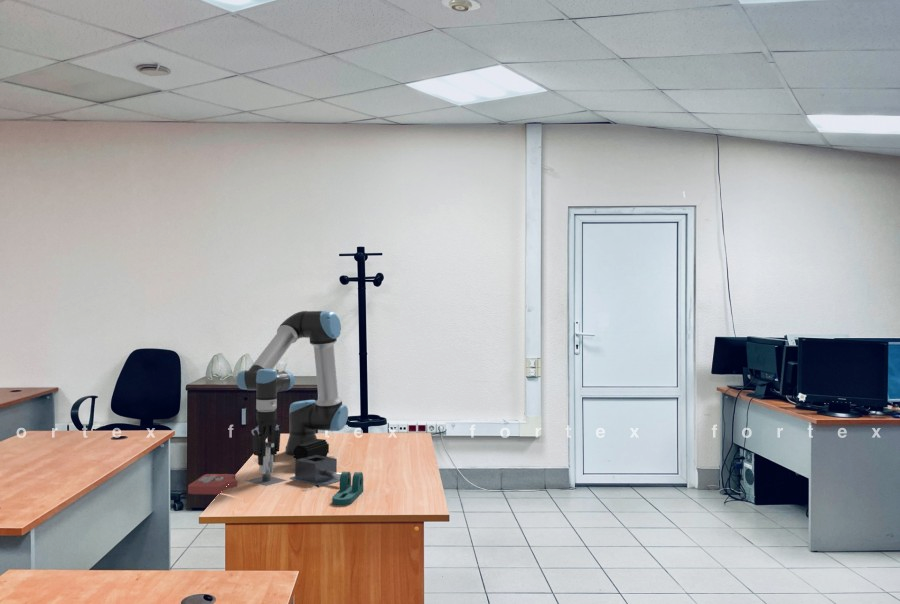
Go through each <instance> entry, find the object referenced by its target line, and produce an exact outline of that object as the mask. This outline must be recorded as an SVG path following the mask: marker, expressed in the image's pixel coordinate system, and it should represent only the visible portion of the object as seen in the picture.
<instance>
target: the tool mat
mask: <svg viewBox="0 0 900 604" xmlns="http://www.w3.org/2000/svg"><path fill="white" fill-rule="evenodd" d="M245 481H246V482H249V483H253V484H257V485H262V486H266V487H267V486H271V485H276V484H279V483H283V482H286V481H288V479H285V478H280V477H275V476H271V479H270V481H262V476H259V477H254V478H251V479H247V480H245Z"/></svg>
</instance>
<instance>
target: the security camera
mask: <svg viewBox="0 0 900 604" xmlns="http://www.w3.org/2000/svg"><path fill="white" fill-rule="evenodd" d="M329 448H330V445H329V443H328V441H326V439H322V438H317V439H316V440H313V441H310V442H306V443H303V444H299V445H297V447H295V448H294V455H293V459H294V461H295V460H297V459H301V458H306V457H310V456H314V455H320V456H325V457H328V454H329V453H330V449H329Z"/></svg>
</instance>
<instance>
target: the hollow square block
mask: <svg viewBox="0 0 900 604" xmlns="http://www.w3.org/2000/svg"><path fill="white" fill-rule="evenodd" d="M337 464H338V459H337V458H335V457H330V456H327V457H325V456H320V455H314V456H310V457H306V458H301V459H297V460H295V459H294V476H292V477H289V480H293V481H298V482H303V483H306V484H310V485H314V487H318V488H320V487H323V486H326V485H327V486H328V485H330V484H331V485H332V484H333V483H338V482H340V476H341V473H342V472H341V473H339V472H338V471H337V470H338V469H337V466H338V465H337Z"/></svg>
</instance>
